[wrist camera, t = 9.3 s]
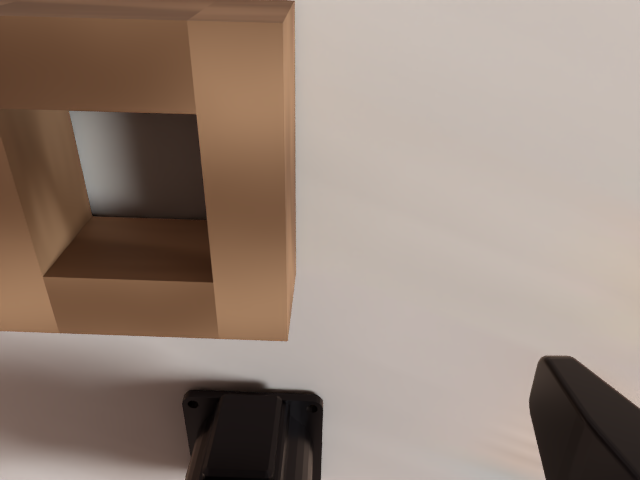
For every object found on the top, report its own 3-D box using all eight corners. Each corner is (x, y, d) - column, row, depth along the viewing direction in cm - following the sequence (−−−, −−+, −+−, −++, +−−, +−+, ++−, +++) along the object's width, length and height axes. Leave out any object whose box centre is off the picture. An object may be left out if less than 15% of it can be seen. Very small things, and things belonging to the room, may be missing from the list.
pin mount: (295, 273, 22) (287, 341, 18) (47, 264, 22) (-9, 330, 18) (294, 0, 16) (282, 22, 13) (-33, -8, 17) (-130, 12, 13)
